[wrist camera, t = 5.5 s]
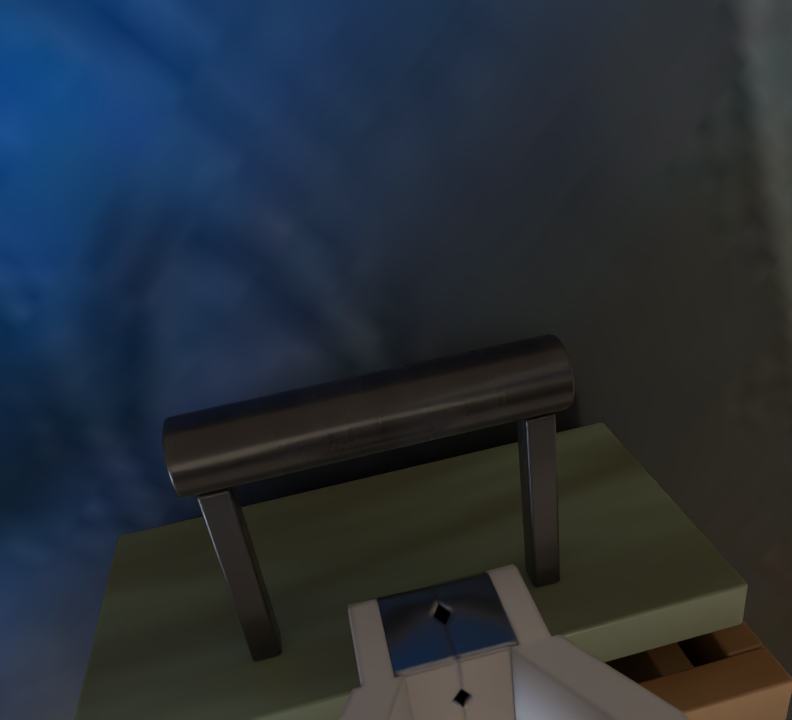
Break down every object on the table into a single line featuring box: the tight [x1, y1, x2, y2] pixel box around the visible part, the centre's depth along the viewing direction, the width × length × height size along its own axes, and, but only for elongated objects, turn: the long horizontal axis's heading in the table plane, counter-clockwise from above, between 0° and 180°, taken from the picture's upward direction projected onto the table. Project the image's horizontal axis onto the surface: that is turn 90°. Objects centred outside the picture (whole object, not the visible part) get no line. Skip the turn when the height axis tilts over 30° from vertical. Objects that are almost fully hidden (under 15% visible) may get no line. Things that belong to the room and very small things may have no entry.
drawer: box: [75, 334, 748, 720], centre depth 18 cm, size 20×14×6 cm
